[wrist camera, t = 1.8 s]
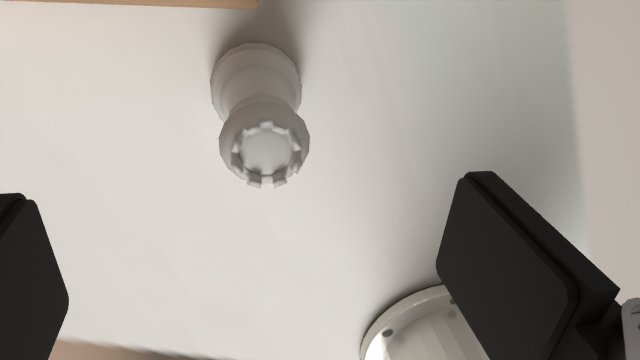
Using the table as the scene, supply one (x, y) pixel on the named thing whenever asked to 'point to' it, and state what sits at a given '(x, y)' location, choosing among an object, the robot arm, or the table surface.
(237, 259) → the table surface
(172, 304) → the table surface
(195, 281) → the table surface
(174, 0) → the walnut board
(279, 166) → the rook chess piece
